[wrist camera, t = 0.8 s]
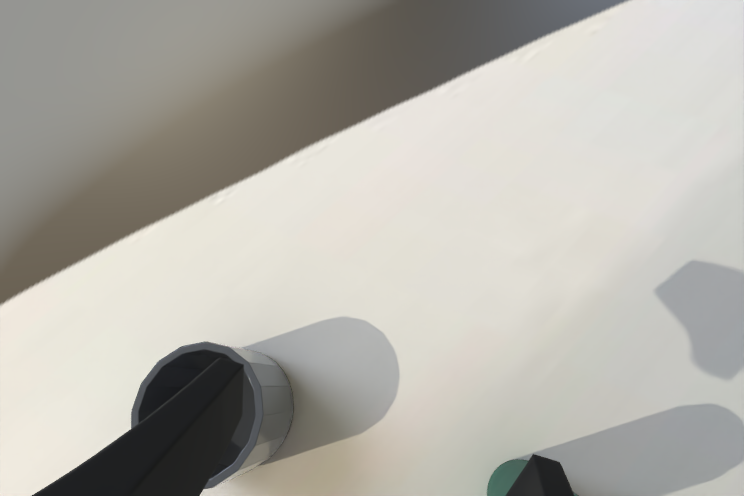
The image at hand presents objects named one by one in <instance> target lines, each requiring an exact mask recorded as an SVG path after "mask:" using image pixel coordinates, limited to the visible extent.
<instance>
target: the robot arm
mask: <svg viewBox="0 0 744 496" xmlns="http://www.w3.org/2000/svg"><path fill="white" fill-rule="evenodd" d="M243 377H244V364H241V363H237V362H234V361H231V360H228V359H225V358H219V359H217V360H215V361H214V362H213V363H212V364H211V365H210V366H209V367H207V368H206V369H205V370H204V371H203V372H202V373H201V374H199V375H198V376H197V377H196V378H195V379H194V380H192V381H191V382H190V383H189V384H188V385H186V386H185V387H184V388H183V389H182V390H180V391H179V392H178V393H177V394H175V395H174V396H173V397H172V398H171V399H169V400H168V401H167V402H166V403H164V404H163V405H162V406H160V407H159V408H158V409H157V410H155V411H154V412H153V413H151V414H150V415H149V416H148V417H146V418H145V419H144V420H143V421H141V422H140V423H139V424H137V425H136V426H135V427H133V428H132V429H131V430H129V431H128V432H126V433H125V434H124V435H122V436H121V437H119V438H118V439H117V440H115V441H114V442H112V443H111V444H110V445H108V446H107V447H105V448H104V449H103V450H101V451H100V452H98V453H97V454H96V455H94V456H93V457H91V458H90V459H88V460H87V461H85V462H84V463H82V464H81V465H79V466H78V467H76V468H75V469H73V470H72V471H70V472H69V473H67V474H66V475H64V476H63V477H61V478H59V479H58V480H56V481H55V482H53V483H51V484H50V485H48V486H47V487H45V488H44V489H42V490H40V491H39V492H37V493H35V494H34V495H32V496H199V495H200V494H201V492H202V490H203V489H204V487H205V486H206V484H207V482H208V481H209V479H210V477H211V476H212V474H213V472H214V471H215V469H216V467H217V466H218V464H219V462H220V461H221V459H222V457H223V455H224V453H225V451H226V449H227V447H228V445H229V443H230V441H231V439H232V437H233V435H234V432H235V430H236V428H237V426H238V424H239V422H240V420H241V417H242V409H243ZM505 496H574V493H573V491H572V489H571V486H570V484H569V482H568V479H567V477H566V475H565V472H564V470H563V468H562V466H561V464H560V462H557V461H554V460H551V459H547V458H544V457H541V456H538V455H534V454H533V455H532V457H531V458H530V460H529V461H528V463H527V464H526V466H525V467H524V469H523V470H522V472H521V473H520V475H519V476H518V478H517V479H516V481H515V482H514V484H513V485H512V486H511V488H510V489H509V491H508V492H507V494H506V495H505Z"/></svg>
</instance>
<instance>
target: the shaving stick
mask: <svg viewBox="0 0 744 496" xmlns="http://www.w3.org/2000/svg"><path fill="white" fill-rule="evenodd" d="M527 463H528V461H526V460H511V461H508V462H505V463H503V464H502V465H500V466H499V467H498V468H497V469H496V470H495V471H494V473H493V474H492V476H491V478H490V480H489V483H488V489H487V496H505V495H506V494H507V492H508V491H509V489H510V488H511V486H512V485H513V484H514V482H515V481H516V479H517V478H518V476H519V475H520V473H521V472H522V470H523V469H524V467H525V466H526V464H527ZM573 493H574V492H573ZM574 496H578V495H577V494H575V493H574Z"/></svg>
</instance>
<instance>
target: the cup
mask: <svg viewBox="0 0 744 496" xmlns="http://www.w3.org/2000/svg"><path fill="white" fill-rule="evenodd" d="M219 358H225V359H228V360H231V361H234V362H237V363H241V364H244V377H243V409H242V417H241V420H240V422H239V424H238V426H237V428H236V430H235V432H234V435H233V437H232V439H231V441H230V443H229V445H228V447H227V449H226V451H225V453H224V455H223V457H222V459H221V461H220V462H219V464H218V466H217V467H216V469H215V471H214V472H213V474H212V476H211V477H210V479H209V481H208V482H207V484H206V486H205V487H204V489H208V488H213V487H215V486H217V485H220V484H222V483H224V482H226V481H228V480H230V479H232V478H235V477H237V476H239V475H241V474H243V473H245V472H248V471H250V470H252V469H253V468H255V467H256V466H258V465H260V464H261V463H263V462H265V461H266V460H267V459H268V458H270V457H271V456H272V455H273V454H274V453H275V452H276V451H277V450H278V448H279V447H280V446H281V444H282V443H283V441H284V439H285V438H286V435H287V433H288V431H289V428H290V425H291V422H292V416H293V395H292V389H291V386H290V383H289V381H288V379H287V376H286V375H285V373H284V372H283V370H282V369H281V368H280V366H279V365H278V364H277V363H276V362H275V361H273V360H272V359H271V358H269V357H268V356H266V355H264V354H262V353H259V352H255V351H251V350H246V349H242V348H237V347H232V346H226V345H221V344H216V343H211V342H201V343H196V344H191V345H186V346H182V347H179V348H178V349H176V350H175V351H173V352H172V353H170V354H169V355H167V356H166V357H164V358H162V359H161V360H159V361H158V362H157V364H156V365H155V366H154V367H153V369H152V370H151V371H150V373H149V374H148V375H147V377H146V378H145V379H144V380H143V382H142V383H141V385H140V388H139V391H138V394H137V397H136V399H135V402H134V405H133V408H132V412H131V429H132V428H133V427H135V426H136V425H137V424H139V423H140V422H141V421H143V420H144V419H145V418H146V417H148V416H149V415H150V414H151V413H153V412H154V411H155V410H157V409H158V408H159V407H160V406H162V405H163V404H164V403H166V402H167V401H168V400H169V399H171V398H172V397H173V396H174V395H175V394H177V393H178V392H179V391H180V390H182V389H183V388H184V387H185V386H186V385H188V384H189V383H190V382H191V381H192V380H194V379H195V378H196V377H197V376H198V375H199V374H201V373H202V372H203V371H204V370H205V369H206V368H207V367H209V366H210V365H211V364H212V363H213V362H214V361H215V360H217V359H219Z"/></svg>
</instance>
